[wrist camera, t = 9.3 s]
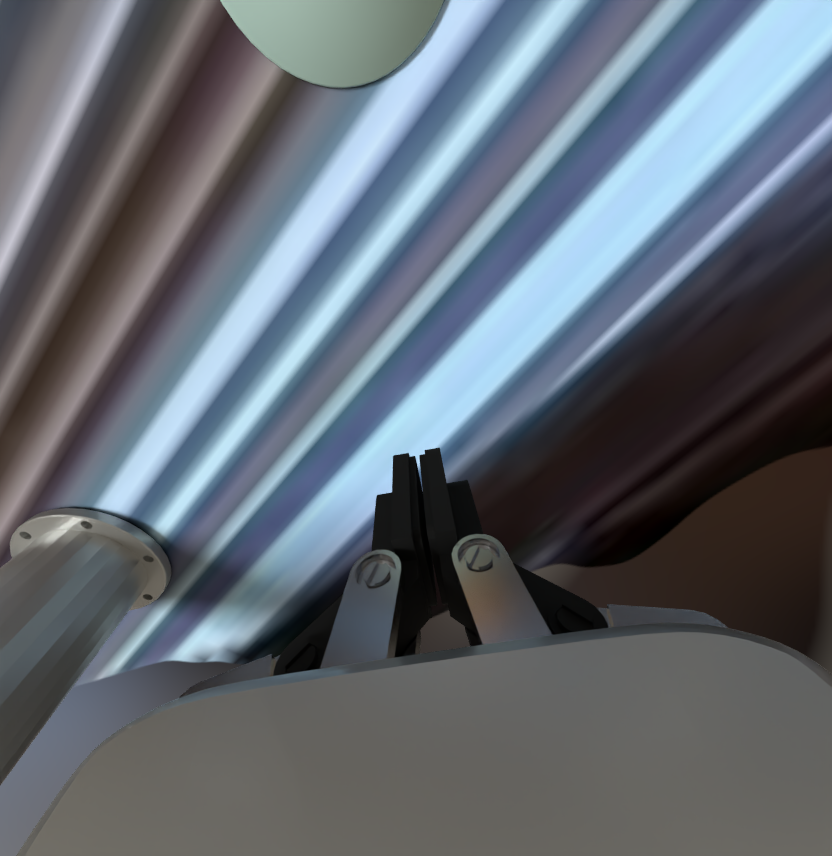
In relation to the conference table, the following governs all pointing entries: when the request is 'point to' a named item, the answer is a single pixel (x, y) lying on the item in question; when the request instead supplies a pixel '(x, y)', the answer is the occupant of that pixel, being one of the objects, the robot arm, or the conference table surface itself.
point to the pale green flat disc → (335, 35)
